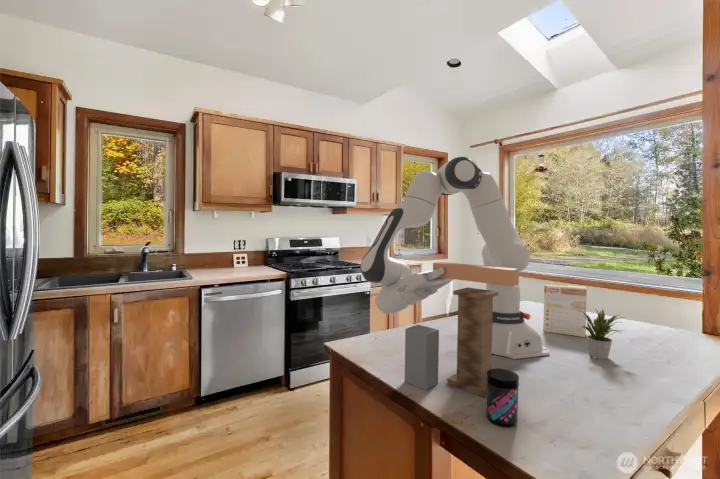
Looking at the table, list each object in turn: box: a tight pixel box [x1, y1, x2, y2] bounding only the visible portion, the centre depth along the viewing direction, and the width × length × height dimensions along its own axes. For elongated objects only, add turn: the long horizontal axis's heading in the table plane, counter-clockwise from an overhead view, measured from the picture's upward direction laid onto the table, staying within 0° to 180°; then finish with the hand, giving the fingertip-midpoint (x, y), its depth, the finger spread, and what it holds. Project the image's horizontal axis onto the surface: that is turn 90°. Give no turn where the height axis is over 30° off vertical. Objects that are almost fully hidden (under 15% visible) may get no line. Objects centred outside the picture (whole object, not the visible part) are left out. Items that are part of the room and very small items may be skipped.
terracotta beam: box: [432, 261, 520, 286], centre depth 96 cm, size 23×4×4 cm, turn 45°
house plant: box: [581, 308, 625, 360], centre depth 118 cm, size 14×14×16 cm
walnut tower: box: [446, 287, 498, 398], centre depth 96 cm, size 11×9×26 cm
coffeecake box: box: [542, 283, 587, 338], centre depth 146 cm, size 15×7×20 cm, turn 58°
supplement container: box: [485, 368, 520, 428], centre depth 79 cm, size 7×7×10 cm
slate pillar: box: [404, 324, 440, 391], centre depth 98 cm, size 7×6×15 cm
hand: (449, 268), depth 101 cm, fingers closed on terracotta beam, 4 cm apart
